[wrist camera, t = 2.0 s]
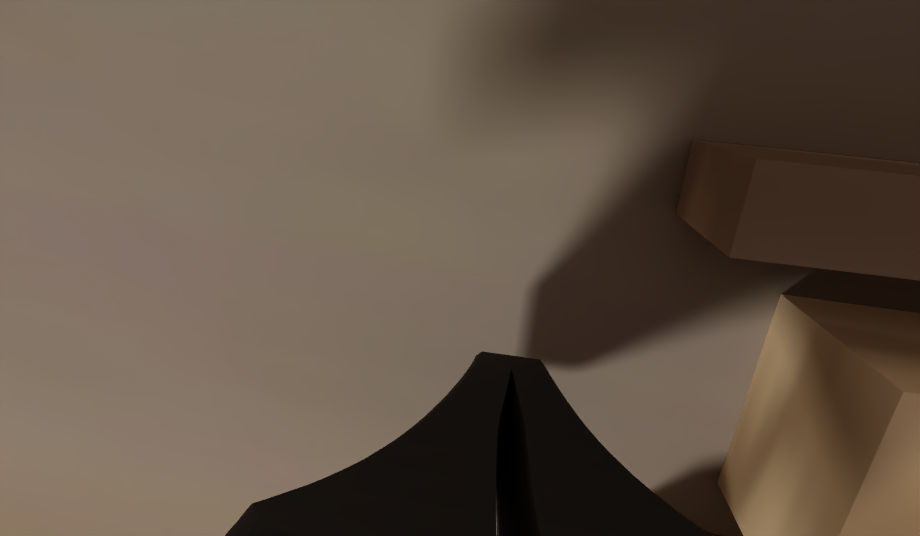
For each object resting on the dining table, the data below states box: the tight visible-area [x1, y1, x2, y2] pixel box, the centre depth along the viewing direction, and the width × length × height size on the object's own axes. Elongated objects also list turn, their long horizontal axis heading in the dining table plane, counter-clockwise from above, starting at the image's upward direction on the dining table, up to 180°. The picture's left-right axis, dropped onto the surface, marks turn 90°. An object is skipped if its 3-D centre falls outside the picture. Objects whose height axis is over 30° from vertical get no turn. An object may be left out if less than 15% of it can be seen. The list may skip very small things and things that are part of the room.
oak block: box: [718, 294, 920, 536], centre depth 10 cm, size 5×5×4 cm
